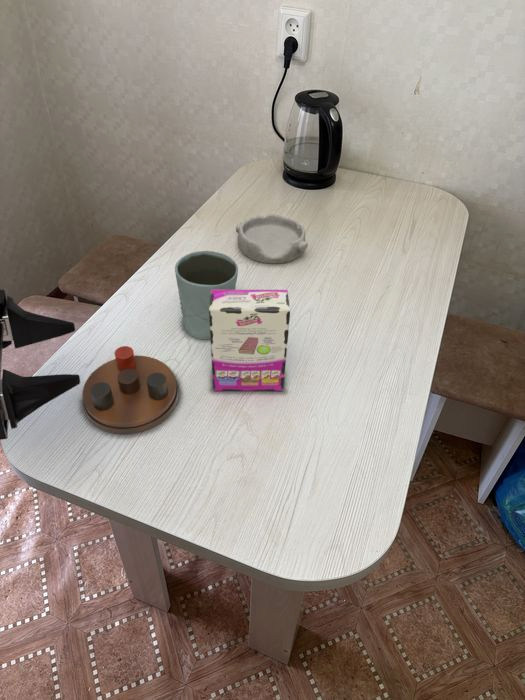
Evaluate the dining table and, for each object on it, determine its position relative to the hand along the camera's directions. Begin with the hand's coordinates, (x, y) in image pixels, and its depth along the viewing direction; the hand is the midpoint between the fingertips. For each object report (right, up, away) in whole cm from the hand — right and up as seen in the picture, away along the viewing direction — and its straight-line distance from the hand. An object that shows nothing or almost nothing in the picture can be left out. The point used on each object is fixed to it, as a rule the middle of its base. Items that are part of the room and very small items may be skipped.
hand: (77, 351), depth 57 cm
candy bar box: (+19, -5, +23) cm, 30 cm away
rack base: (+1, -7, +20) cm, 21 cm away
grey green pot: (+12, +5, +33) cm, 35 cm away
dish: (+23, +22, +51) cm, 60 cm away
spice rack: (+1, -6, +19) cm, 20 cm away
